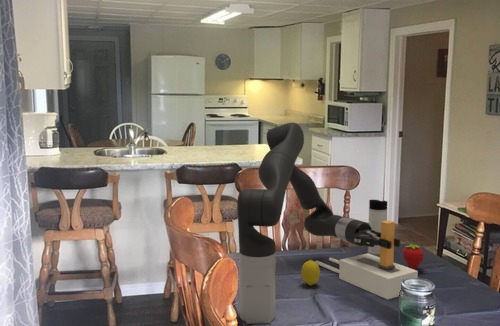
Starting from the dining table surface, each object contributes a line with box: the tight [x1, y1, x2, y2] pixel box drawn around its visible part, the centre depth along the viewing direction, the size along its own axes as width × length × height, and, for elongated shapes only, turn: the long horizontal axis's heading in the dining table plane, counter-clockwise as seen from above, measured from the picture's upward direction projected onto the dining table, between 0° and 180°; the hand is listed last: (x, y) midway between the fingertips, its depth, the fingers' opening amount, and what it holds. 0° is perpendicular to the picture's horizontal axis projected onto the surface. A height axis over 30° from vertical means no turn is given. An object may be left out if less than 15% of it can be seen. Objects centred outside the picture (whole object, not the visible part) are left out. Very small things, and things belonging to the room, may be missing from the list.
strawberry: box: [402, 240, 425, 270], centre depth 172 cm, size 6×8×10 cm
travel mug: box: [367, 199, 388, 257], centre depth 188 cm, size 6×7×20 cm
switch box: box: [338, 252, 419, 301], centre depth 160 cm, size 20×12×6 cm, turn 32°
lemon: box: [301, 259, 321, 287], centre depth 159 cm, size 6×6×8 cm
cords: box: [314, 257, 340, 274], centre depth 175 cm, size 14×7×1 cm, turn 32°
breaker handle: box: [378, 219, 396, 270], centre depth 155 cm, size 4×3×14 cm
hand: (395, 244), depth 153 cm, fingers closed on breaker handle, 3 cm apart
